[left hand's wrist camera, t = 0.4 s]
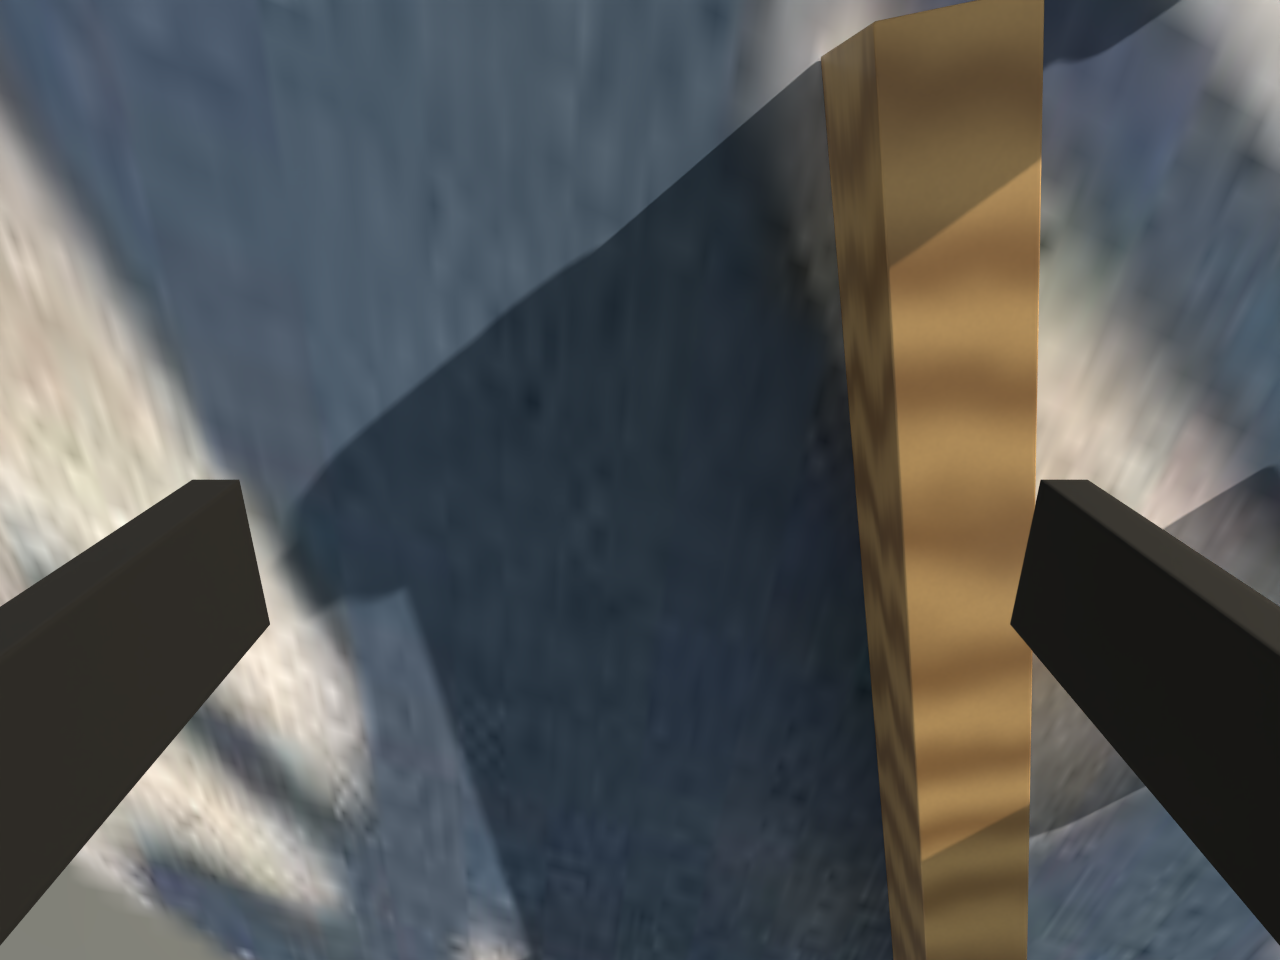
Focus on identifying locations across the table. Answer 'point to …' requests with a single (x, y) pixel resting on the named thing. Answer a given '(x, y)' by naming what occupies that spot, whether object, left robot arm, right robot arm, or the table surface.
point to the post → (944, 444)
